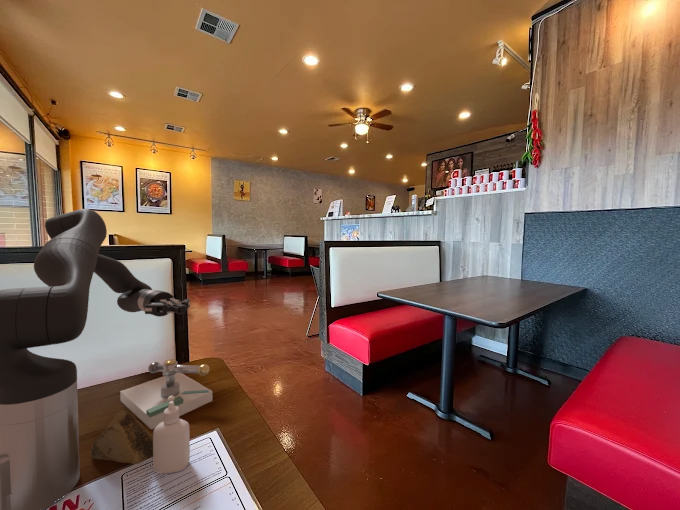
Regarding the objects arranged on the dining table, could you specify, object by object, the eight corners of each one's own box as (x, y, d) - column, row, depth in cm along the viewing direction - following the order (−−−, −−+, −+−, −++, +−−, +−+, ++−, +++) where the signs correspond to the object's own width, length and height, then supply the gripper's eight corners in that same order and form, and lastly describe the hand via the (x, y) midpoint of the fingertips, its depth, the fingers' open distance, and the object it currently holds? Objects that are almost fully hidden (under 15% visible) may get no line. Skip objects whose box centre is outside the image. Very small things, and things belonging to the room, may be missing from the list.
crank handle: (145, 387, 70) (144, 363, 69) (154, 380, 73) (153, 357, 73) (205, 389, 69) (205, 365, 69) (211, 383, 72) (211, 360, 72)
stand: (151, 429, 62) (150, 407, 61) (120, 400, 72) (120, 381, 72) (212, 400, 73) (212, 382, 73) (178, 379, 83) (178, 363, 83)
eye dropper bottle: (172, 453, 55) (172, 392, 54) (193, 463, 53) (193, 399, 52) (149, 470, 51) (148, 404, 50) (171, 481, 49) (170, 413, 48)
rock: (68, 454, 51) (90, 470, 46) (100, 402, 56) (124, 412, 51) (126, 459, 58) (151, 474, 53) (151, 413, 63) (176, 423, 58)
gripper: (131, 293, 84) (156, 300, 74) (178, 288, 95) (206, 293, 85) (131, 318, 84) (157, 328, 74) (178, 310, 95) (206, 318, 85)
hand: (183, 309), depth 79 cm, fingers closed
